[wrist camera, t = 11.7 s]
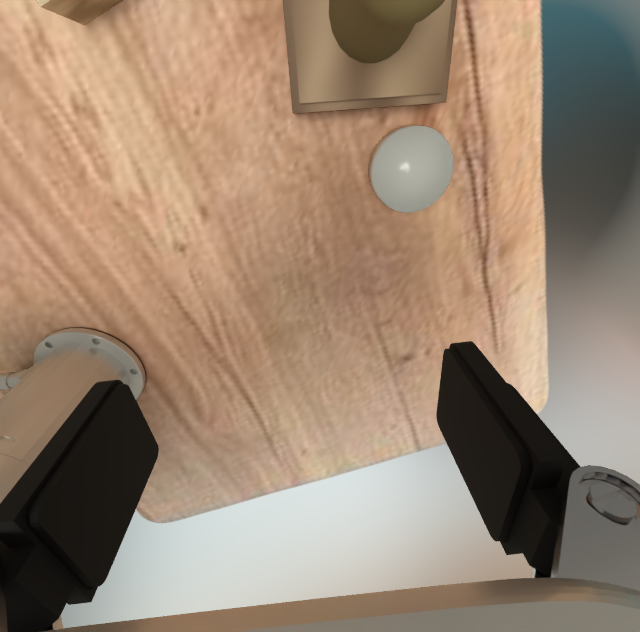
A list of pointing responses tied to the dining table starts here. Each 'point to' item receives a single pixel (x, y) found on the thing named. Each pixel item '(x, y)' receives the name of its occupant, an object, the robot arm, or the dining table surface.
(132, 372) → the robot arm
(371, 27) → the pepper shaker
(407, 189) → the pale grey dome
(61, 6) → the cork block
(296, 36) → the walnut stand
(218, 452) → the dining table surface
